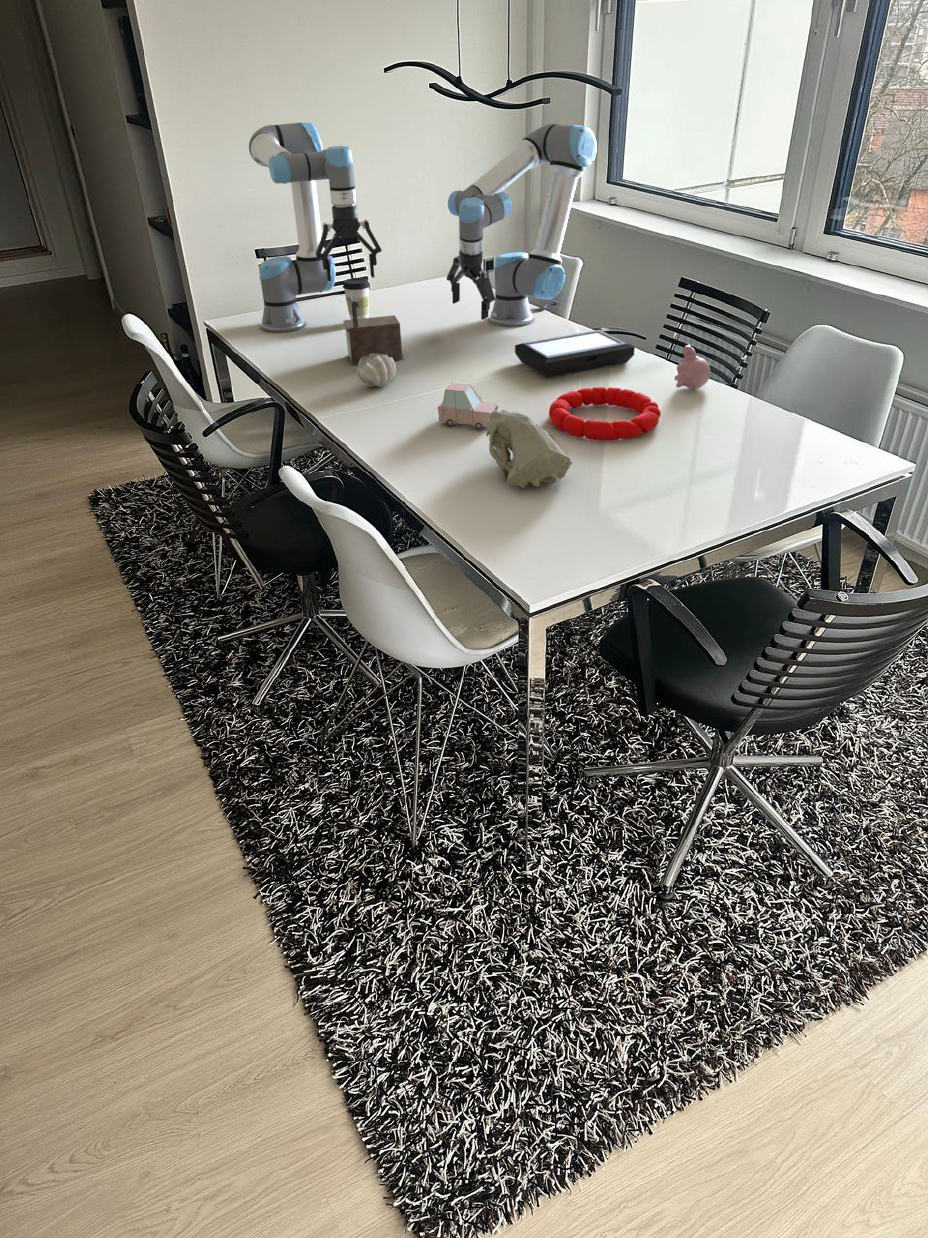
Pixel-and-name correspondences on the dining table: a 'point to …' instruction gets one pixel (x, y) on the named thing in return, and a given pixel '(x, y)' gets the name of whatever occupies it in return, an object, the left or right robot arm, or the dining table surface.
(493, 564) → the dining table surface
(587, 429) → the decorative ring
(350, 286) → the coffee cup
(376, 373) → the seashell
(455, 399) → the toy car
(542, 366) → the electronic device
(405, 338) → the dining table surface
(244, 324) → the dining table surface
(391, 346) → the chest
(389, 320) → the panel with cylinder handle
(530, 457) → the animal skull
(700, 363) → the figurine
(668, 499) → the dining table surface
